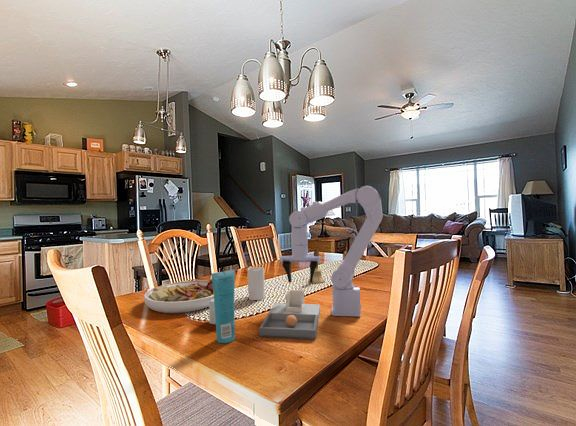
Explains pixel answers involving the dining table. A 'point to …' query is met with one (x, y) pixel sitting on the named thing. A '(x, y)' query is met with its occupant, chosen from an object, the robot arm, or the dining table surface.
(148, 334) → the dining table surface
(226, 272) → the tube
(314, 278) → the hand bell
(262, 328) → the tray
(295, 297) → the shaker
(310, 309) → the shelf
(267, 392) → the dining table surface
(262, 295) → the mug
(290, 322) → the ball
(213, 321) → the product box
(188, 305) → the bowl
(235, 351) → the dining table surface
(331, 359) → the dining table surface
